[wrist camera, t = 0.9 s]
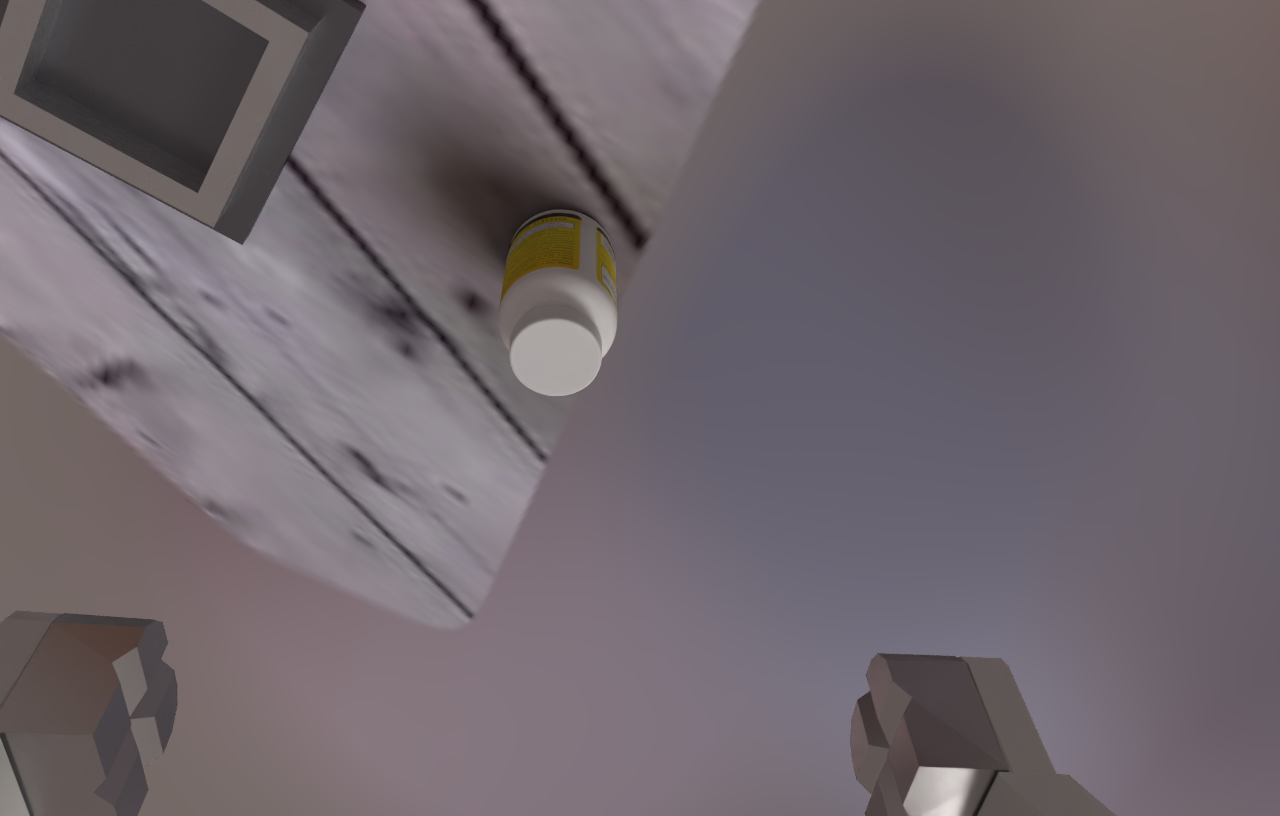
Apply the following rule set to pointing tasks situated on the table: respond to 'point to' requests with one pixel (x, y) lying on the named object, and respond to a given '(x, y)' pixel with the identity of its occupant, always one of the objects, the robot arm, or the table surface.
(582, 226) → the supplement bottle
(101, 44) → the collar socket
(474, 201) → the table surface
